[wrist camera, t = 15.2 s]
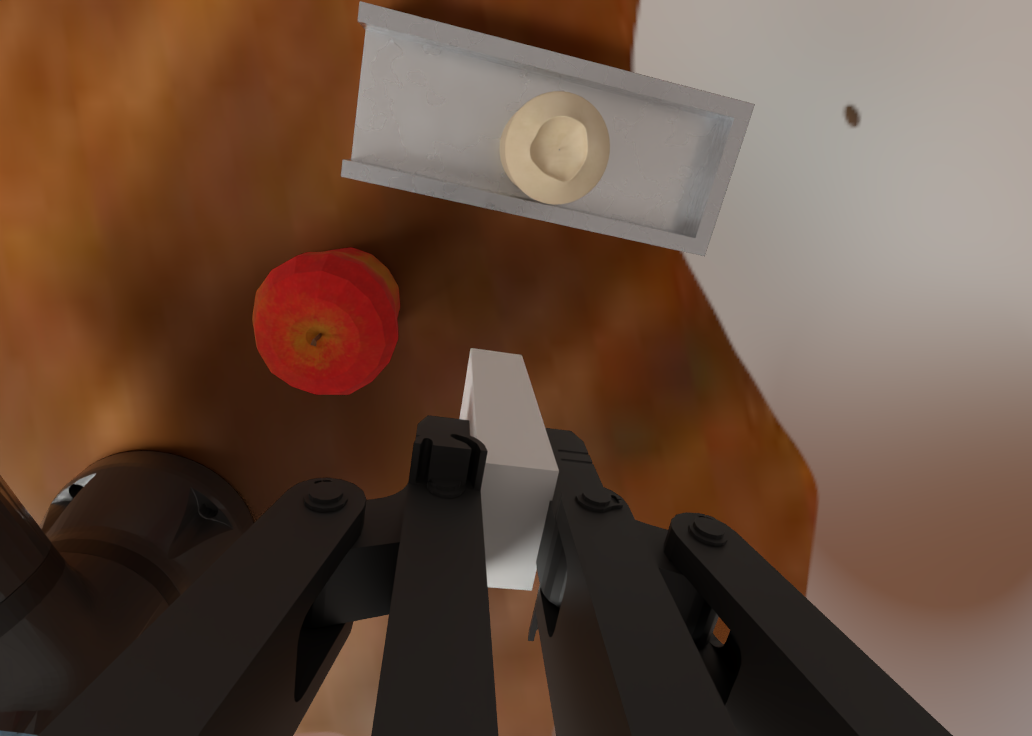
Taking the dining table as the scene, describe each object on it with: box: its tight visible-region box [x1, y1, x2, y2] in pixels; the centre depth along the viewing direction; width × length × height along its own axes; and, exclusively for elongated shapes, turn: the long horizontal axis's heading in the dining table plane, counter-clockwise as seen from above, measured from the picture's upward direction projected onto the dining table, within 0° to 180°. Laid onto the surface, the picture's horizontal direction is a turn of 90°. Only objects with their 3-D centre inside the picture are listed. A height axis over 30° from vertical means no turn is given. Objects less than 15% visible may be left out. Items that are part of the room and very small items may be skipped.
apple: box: [252, 247, 400, 395], centre depth 36 cm, size 9×8×12 cm
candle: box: [499, 91, 610, 205], centre depth 33 cm, size 6×6×10 cm
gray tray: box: [341, 1, 754, 256], centre depth 37 cm, size 24×10×4 cm, turn 78°
